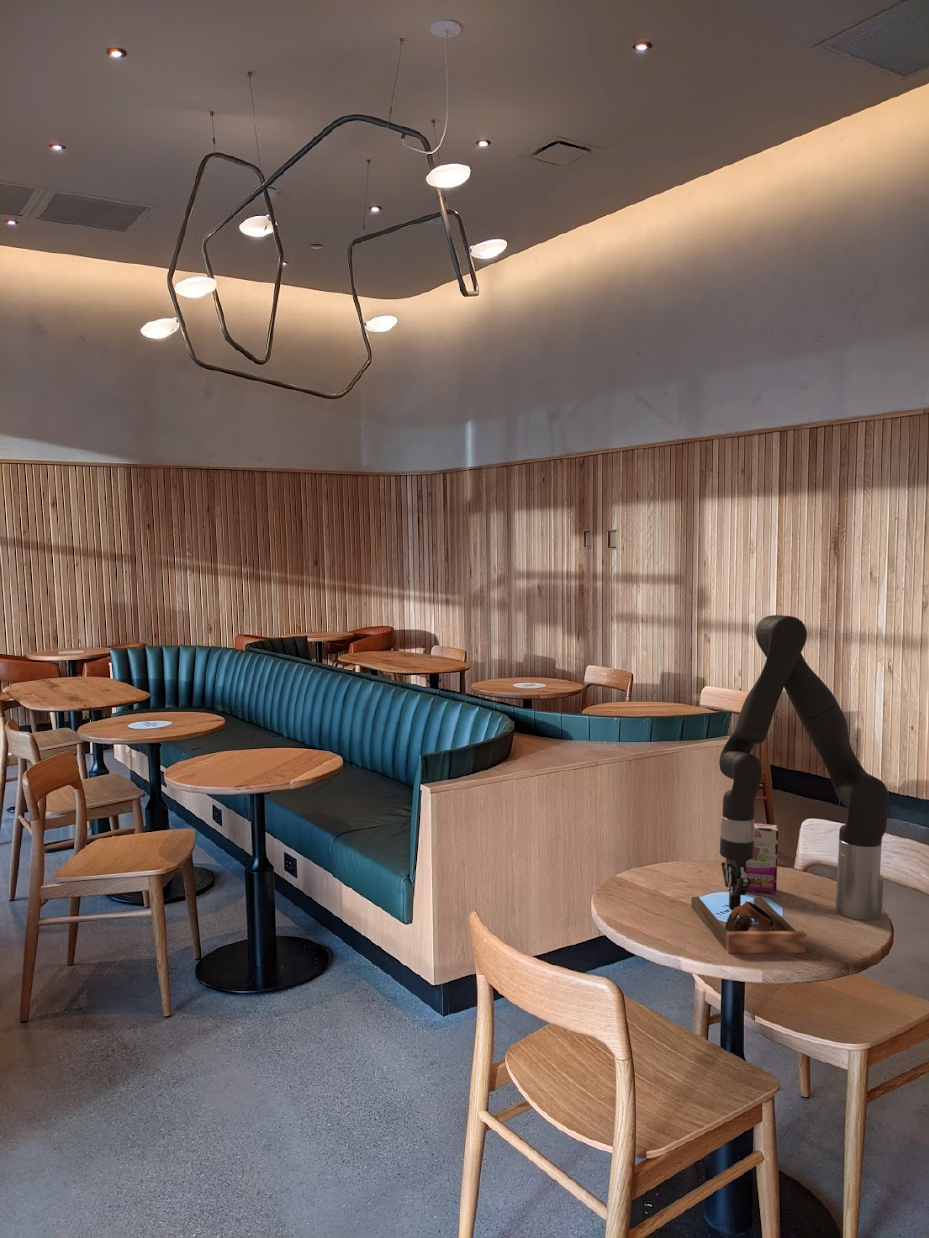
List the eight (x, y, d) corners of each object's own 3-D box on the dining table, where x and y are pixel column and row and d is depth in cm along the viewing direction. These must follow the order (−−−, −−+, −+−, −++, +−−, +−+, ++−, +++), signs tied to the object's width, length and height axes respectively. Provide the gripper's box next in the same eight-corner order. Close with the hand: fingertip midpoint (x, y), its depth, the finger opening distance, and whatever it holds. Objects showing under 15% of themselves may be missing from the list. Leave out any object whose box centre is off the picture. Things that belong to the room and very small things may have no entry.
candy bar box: (775, 888, 237) (778, 824, 236) (776, 895, 233) (779, 829, 232) (729, 883, 241) (732, 820, 240) (729, 889, 236) (731, 825, 235)
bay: (760, 906, 225) (760, 890, 224) (805, 952, 199) (806, 933, 199) (691, 906, 224) (691, 890, 223) (728, 952, 198) (728, 934, 198)
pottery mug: (726, 925, 214) (746, 896, 213) (762, 953, 209) (783, 923, 208) (712, 929, 204) (733, 898, 203) (749, 959, 199) (771, 927, 198)
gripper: (764, 845, 211) (761, 920, 212) (742, 827, 224) (739, 899, 225) (731, 845, 210) (728, 920, 211) (711, 828, 223) (708, 899, 225)
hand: (734, 909), depth 218 cm, fingers closed
